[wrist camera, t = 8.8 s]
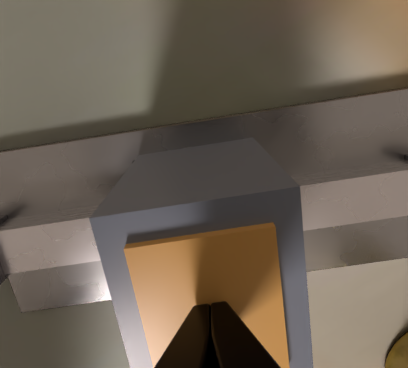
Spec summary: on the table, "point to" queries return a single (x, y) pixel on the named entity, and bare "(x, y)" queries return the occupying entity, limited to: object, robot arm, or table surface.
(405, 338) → the vase
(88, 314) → the table surface
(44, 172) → the rail
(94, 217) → the grey slider block
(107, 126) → the table surface
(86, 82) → the table surface
